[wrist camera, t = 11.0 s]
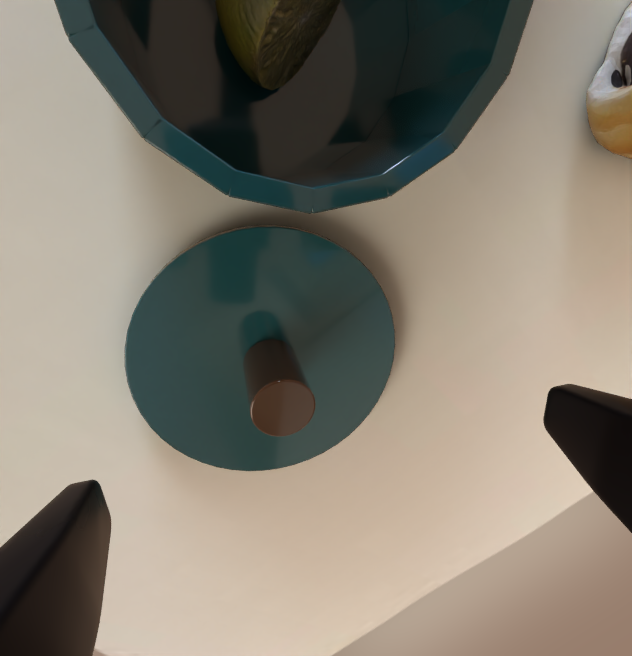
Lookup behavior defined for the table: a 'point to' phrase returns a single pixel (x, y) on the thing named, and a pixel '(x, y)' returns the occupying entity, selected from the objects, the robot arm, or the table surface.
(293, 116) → the pot
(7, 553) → the robot arm
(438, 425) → the table surface
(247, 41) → the lime
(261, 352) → the lid
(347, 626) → the table surface
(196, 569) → the table surface
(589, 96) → the pastry
